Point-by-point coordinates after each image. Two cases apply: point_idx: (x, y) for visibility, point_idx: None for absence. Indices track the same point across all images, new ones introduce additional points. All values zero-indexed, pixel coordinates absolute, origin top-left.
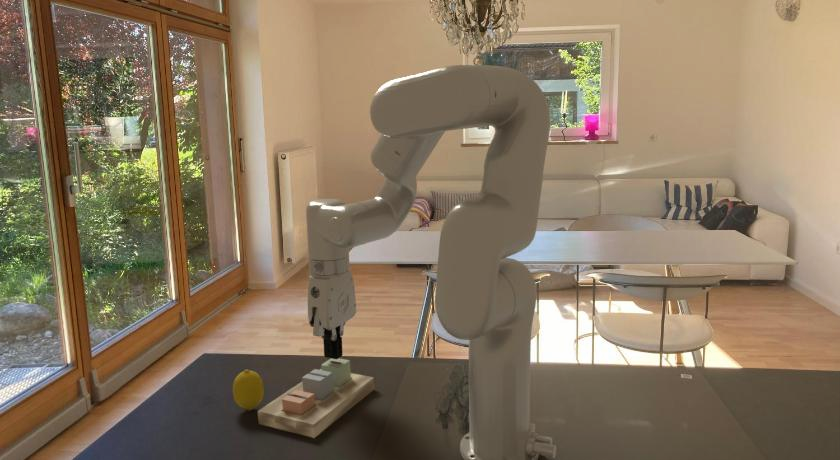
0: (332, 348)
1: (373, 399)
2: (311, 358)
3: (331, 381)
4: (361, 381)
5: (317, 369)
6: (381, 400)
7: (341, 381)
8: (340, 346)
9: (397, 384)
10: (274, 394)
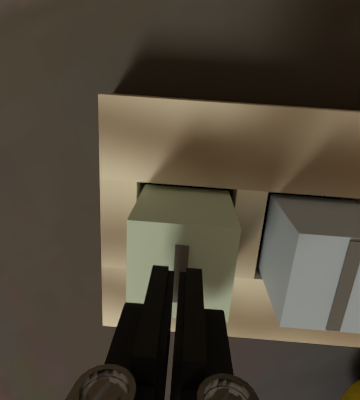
0: (223, 338)
1: (191, 53)
2: (6, 389)
3: (298, 217)
4: (157, 128)
5: (282, 314)
6: (188, 14)
7: (214, 199)
8: (163, 307)
9: (32, 16)
10: (256, 370)
